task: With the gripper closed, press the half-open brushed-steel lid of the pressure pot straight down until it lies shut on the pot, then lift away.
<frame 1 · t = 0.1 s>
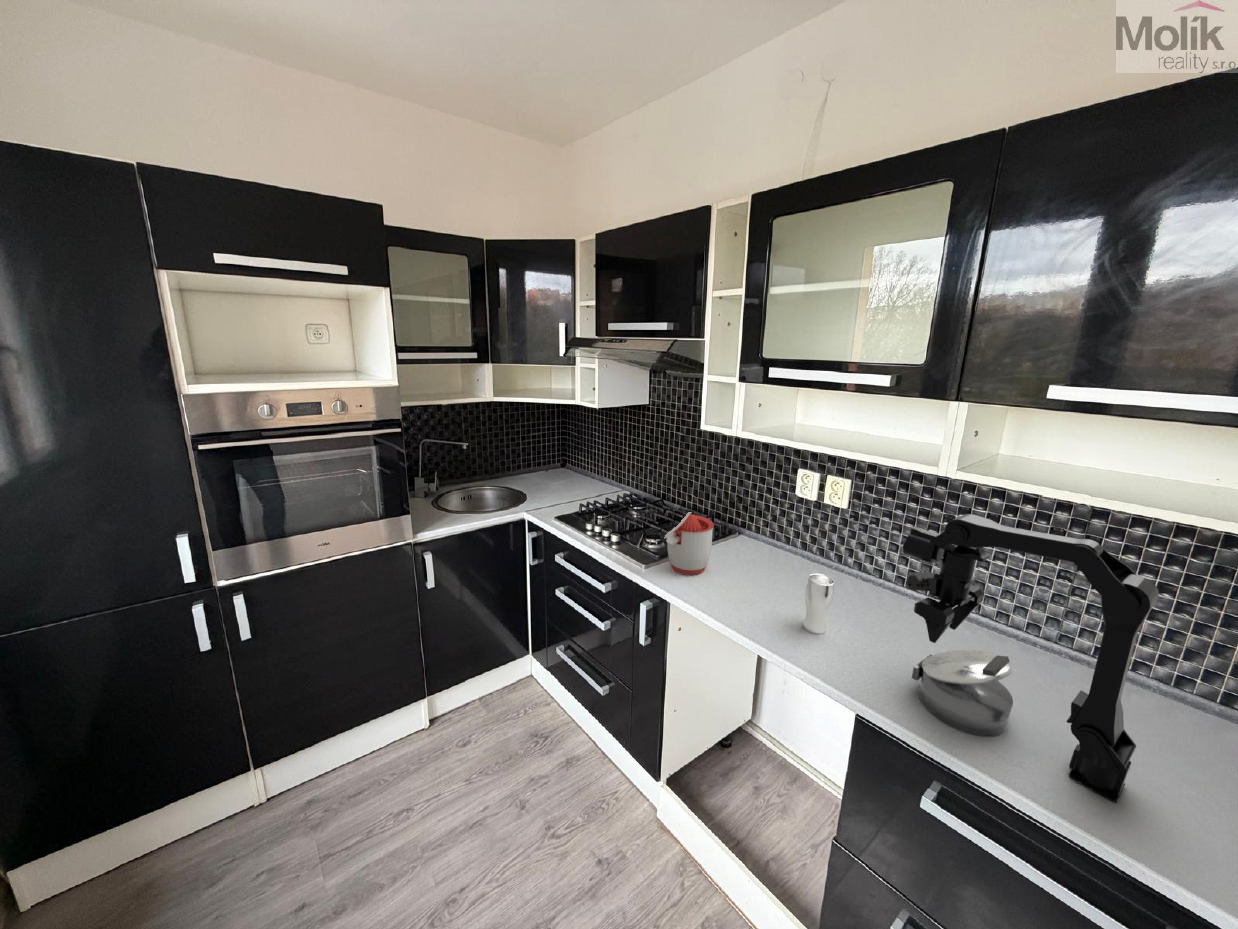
hand: (942, 635, 107), 15 cm above the worktop, tool pointing down, fingers open, 9 cm apart
citrus juicer: (686, 569, 167), on the worktop
pot: (960, 707, 106), on the worktop
beer glass: (814, 628, 134), on the worktop
lid: (926, 663, 111), point 6 cm above the worktop, hinge at 25.0°
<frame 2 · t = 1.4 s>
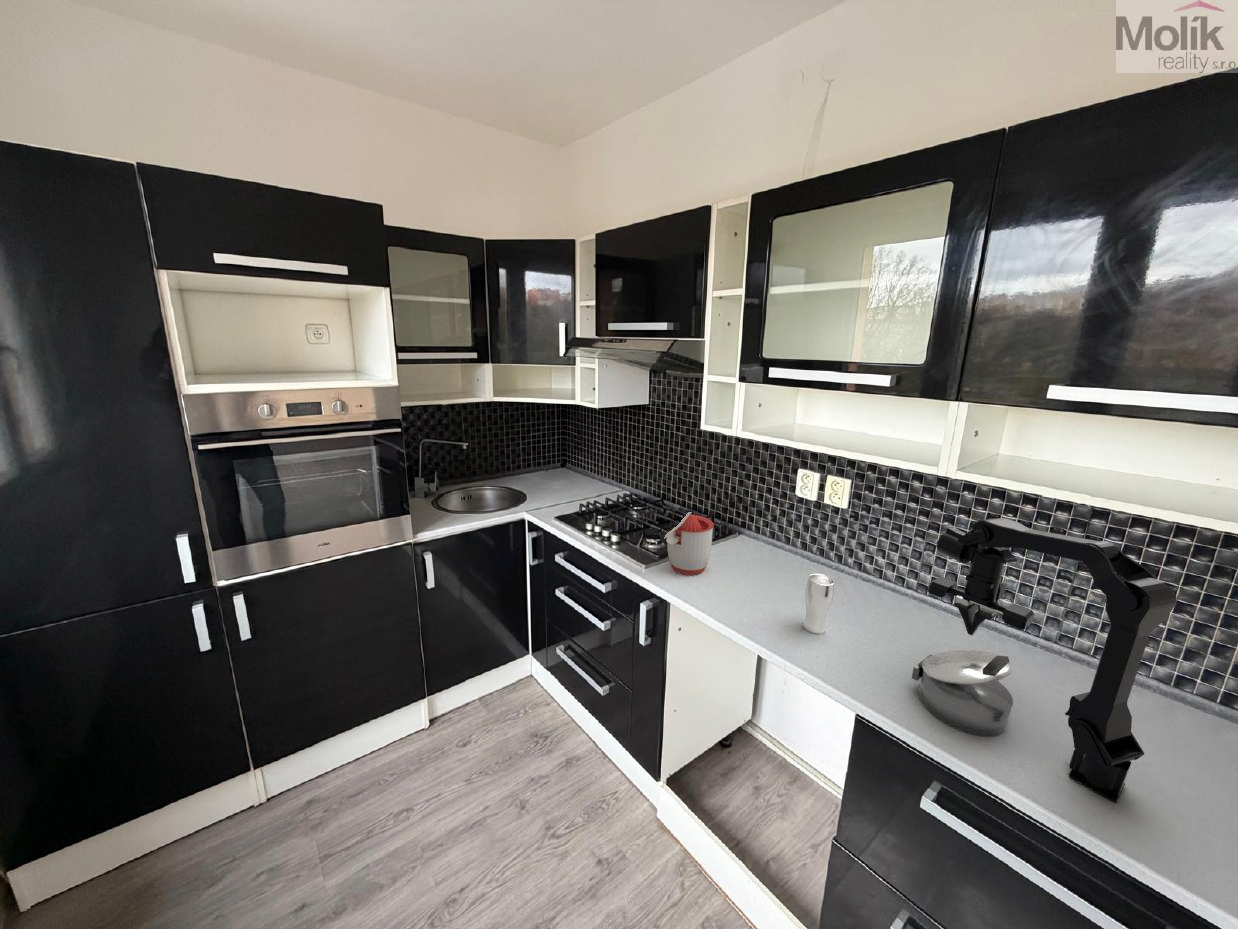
hand: (970, 634, 111), 13 cm above the worktop, tool pointing down, fingers closed
nothing on the worktop moved.
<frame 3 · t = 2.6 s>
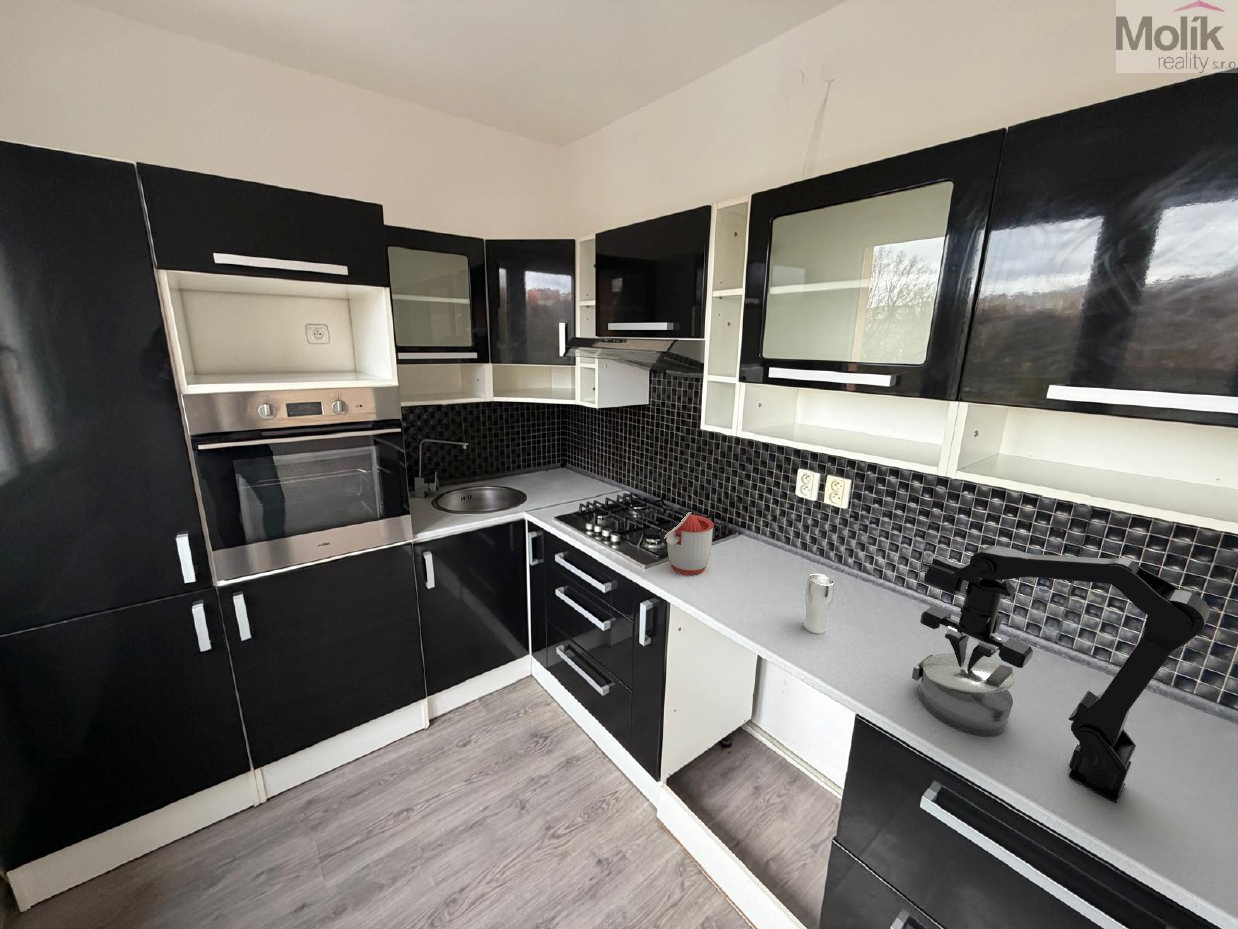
hand: (965, 668, 104), 10 cm above the worktop, tool pointing down, fingers closed
lid: (926, 663, 111), point 6 cm above the worktop, hinge at 16.3°, touching gripper
everything else where it was.
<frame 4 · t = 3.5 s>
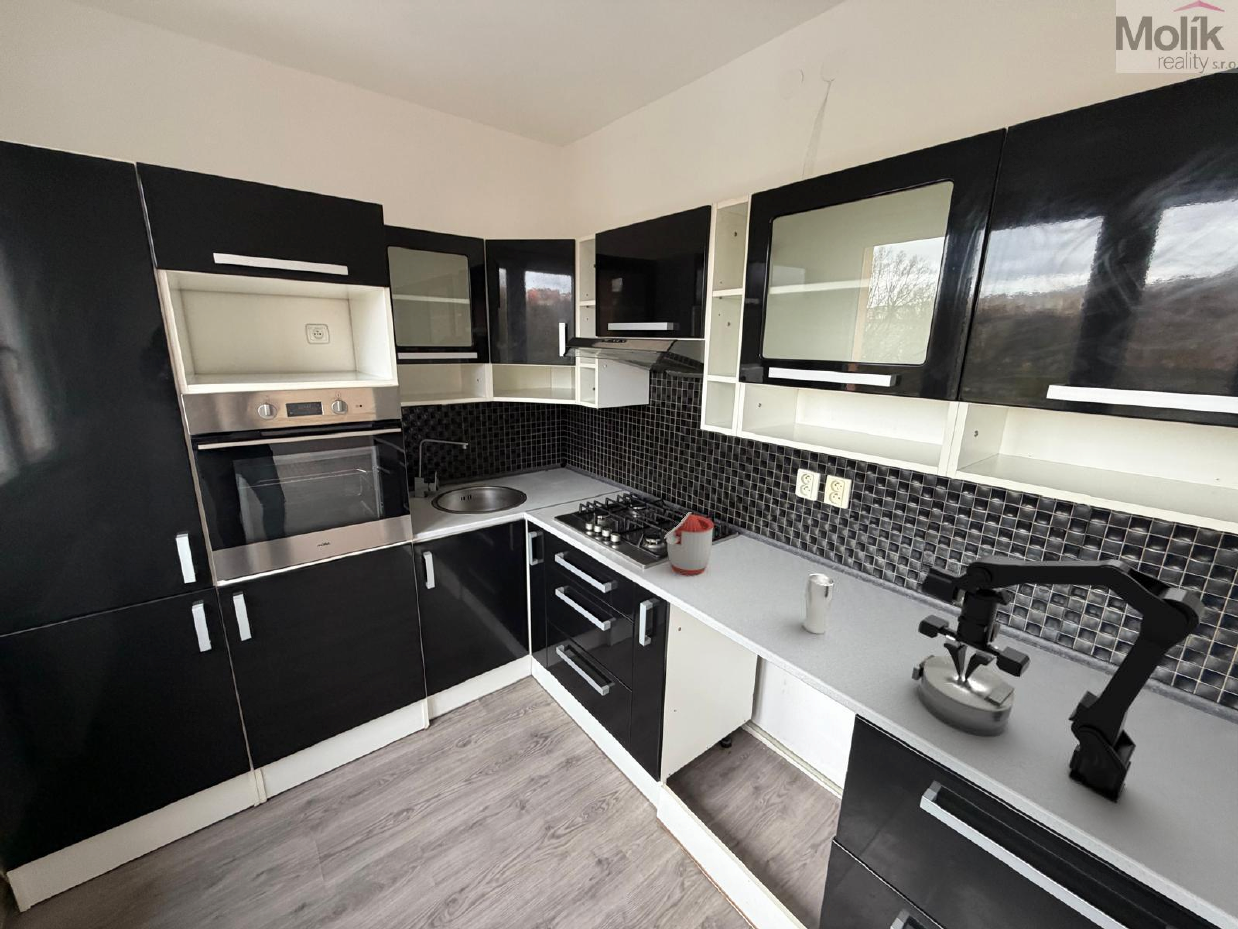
hand: (963, 677, 105), 7 cm above the worktop, tool pointing down, fingers closed
lid: (926, 663, 111), point 6 cm above the worktop, hinge at 0.1°
everything else where it was.
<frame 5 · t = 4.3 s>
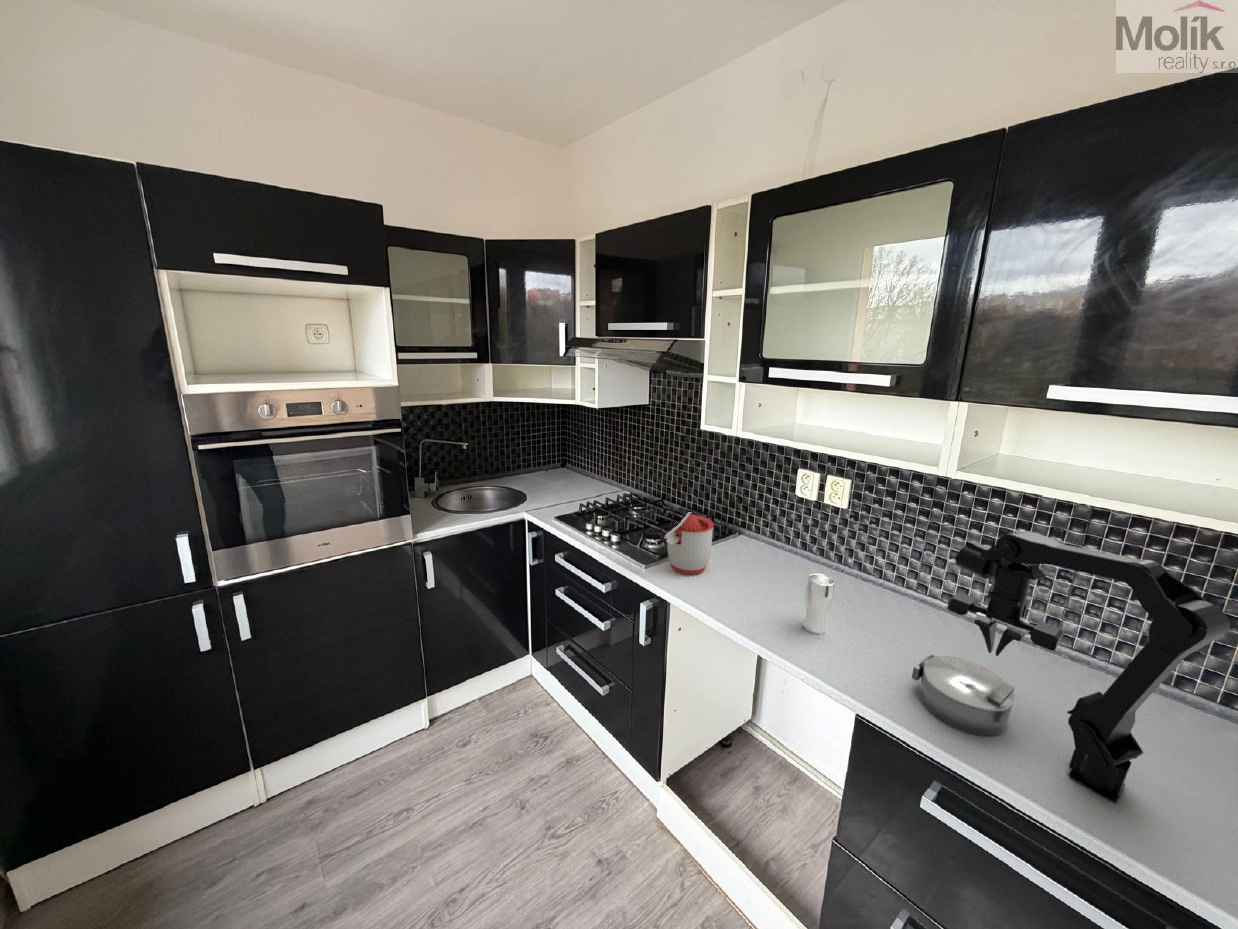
hand: (993, 653, 104), 13 cm above the worktop, tool pointing down, fingers closed
nothing on the worktop moved.
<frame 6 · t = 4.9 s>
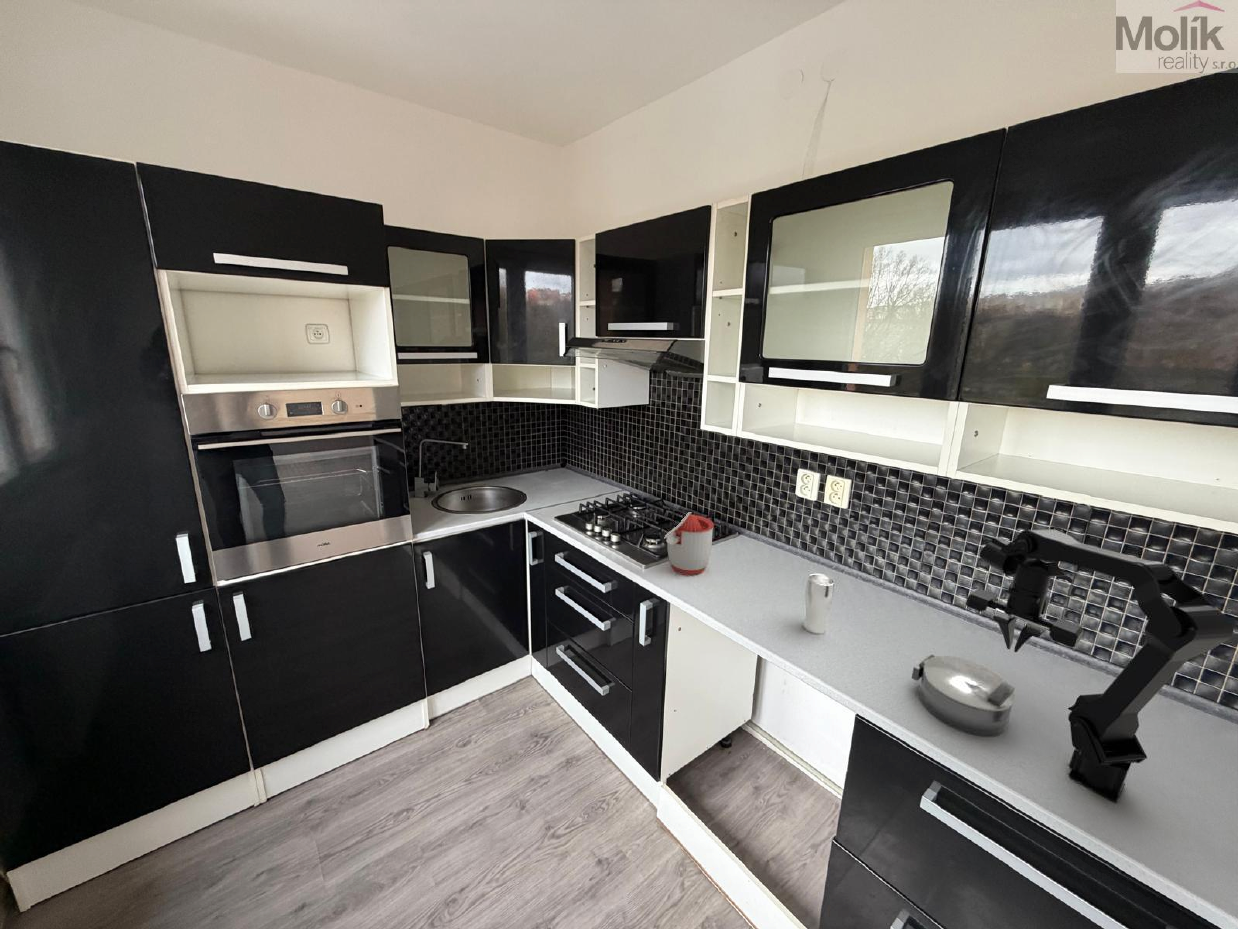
hand: (1012, 650, 105), 13 cm above the worktop, tool pointing down, fingers closed
nothing on the worktop moved.
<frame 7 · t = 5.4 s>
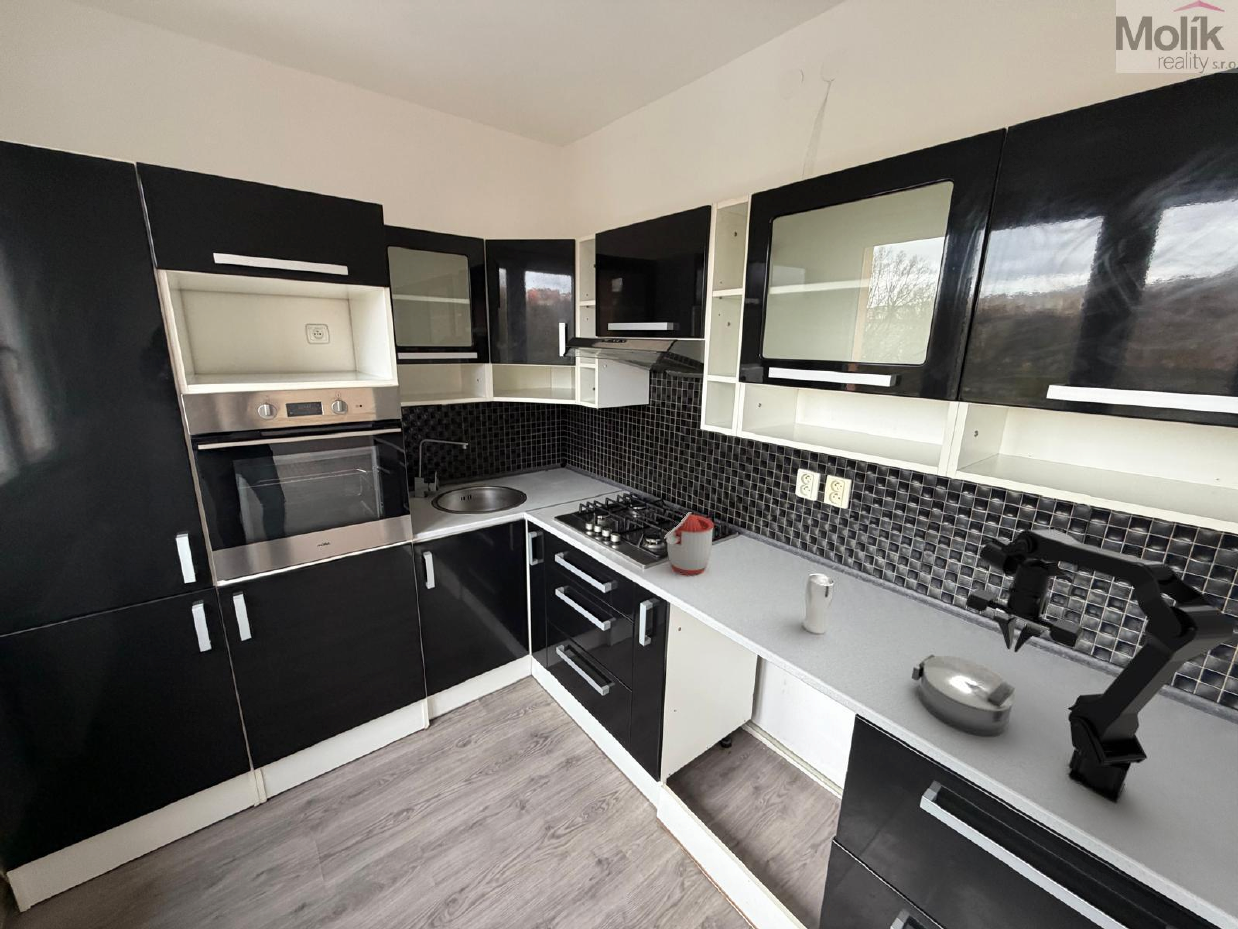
hand: (1012, 650, 105), 13 cm above the worktop, tool pointing down, fingers closed
nothing on the worktop moved.
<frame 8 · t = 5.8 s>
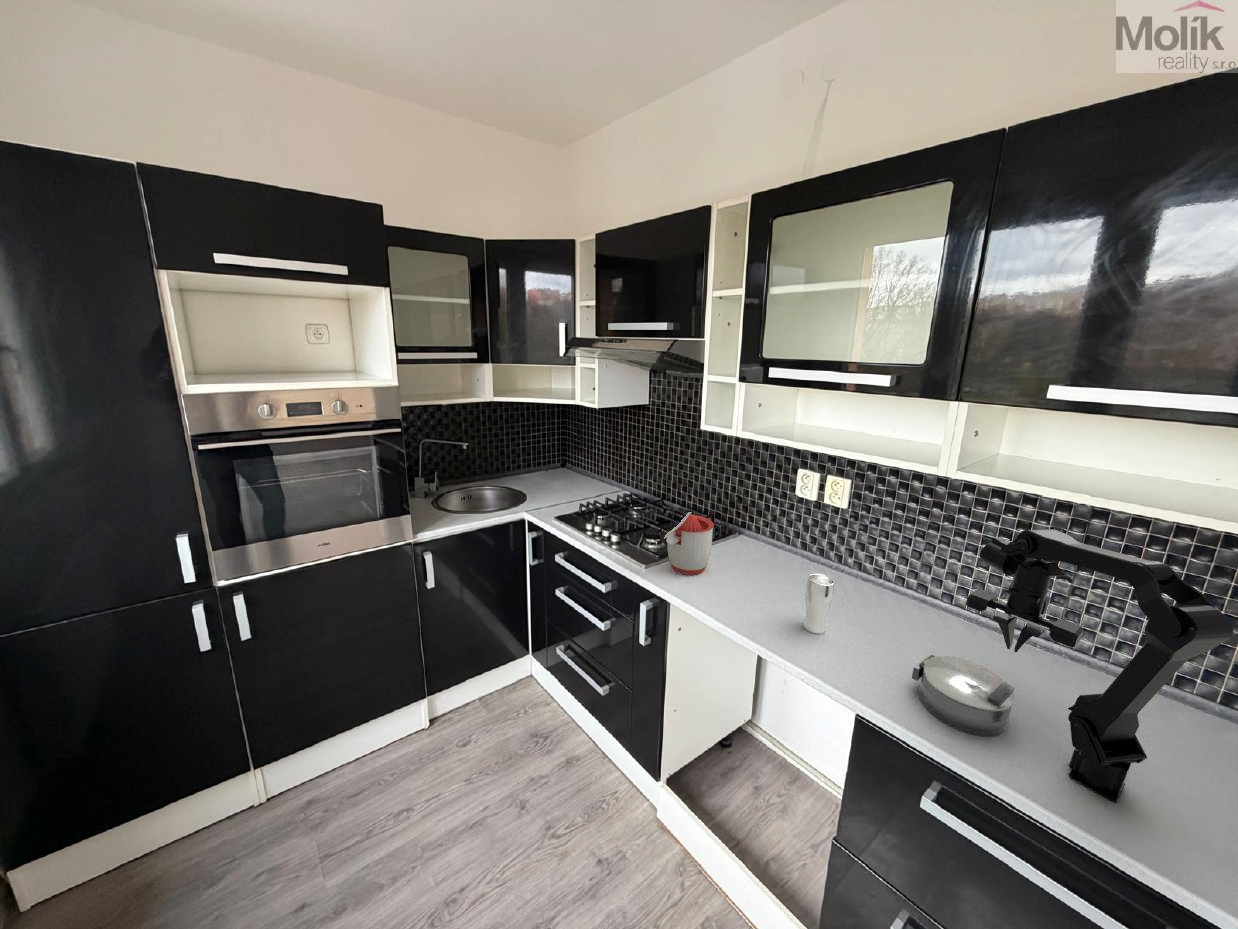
hand: (1012, 650, 105), 13 cm above the worktop, tool pointing down, fingers closed
nothing on the worktop moved.
at the end: lid at +0° (first picture: +25°) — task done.
